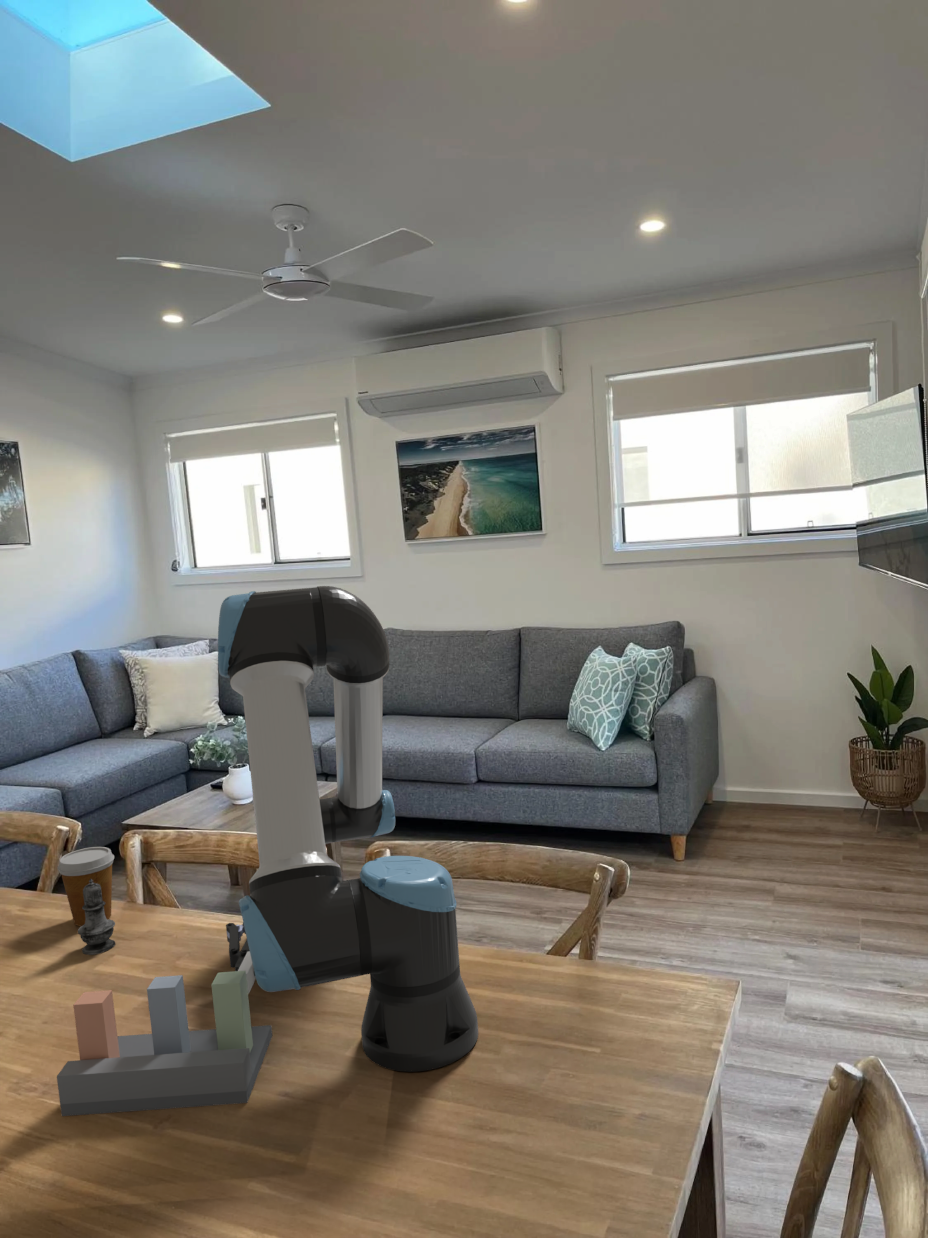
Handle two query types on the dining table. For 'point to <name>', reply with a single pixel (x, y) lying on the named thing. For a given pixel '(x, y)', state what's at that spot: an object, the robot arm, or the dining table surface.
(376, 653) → the robot arm
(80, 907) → the disposable coffee cup
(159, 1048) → the blue-grey upright block
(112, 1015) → the salmon pink block
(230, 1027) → the green rectangular block
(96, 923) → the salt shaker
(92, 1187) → the dining table surface
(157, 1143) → the dining table surface
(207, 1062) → the dark grey block holder
